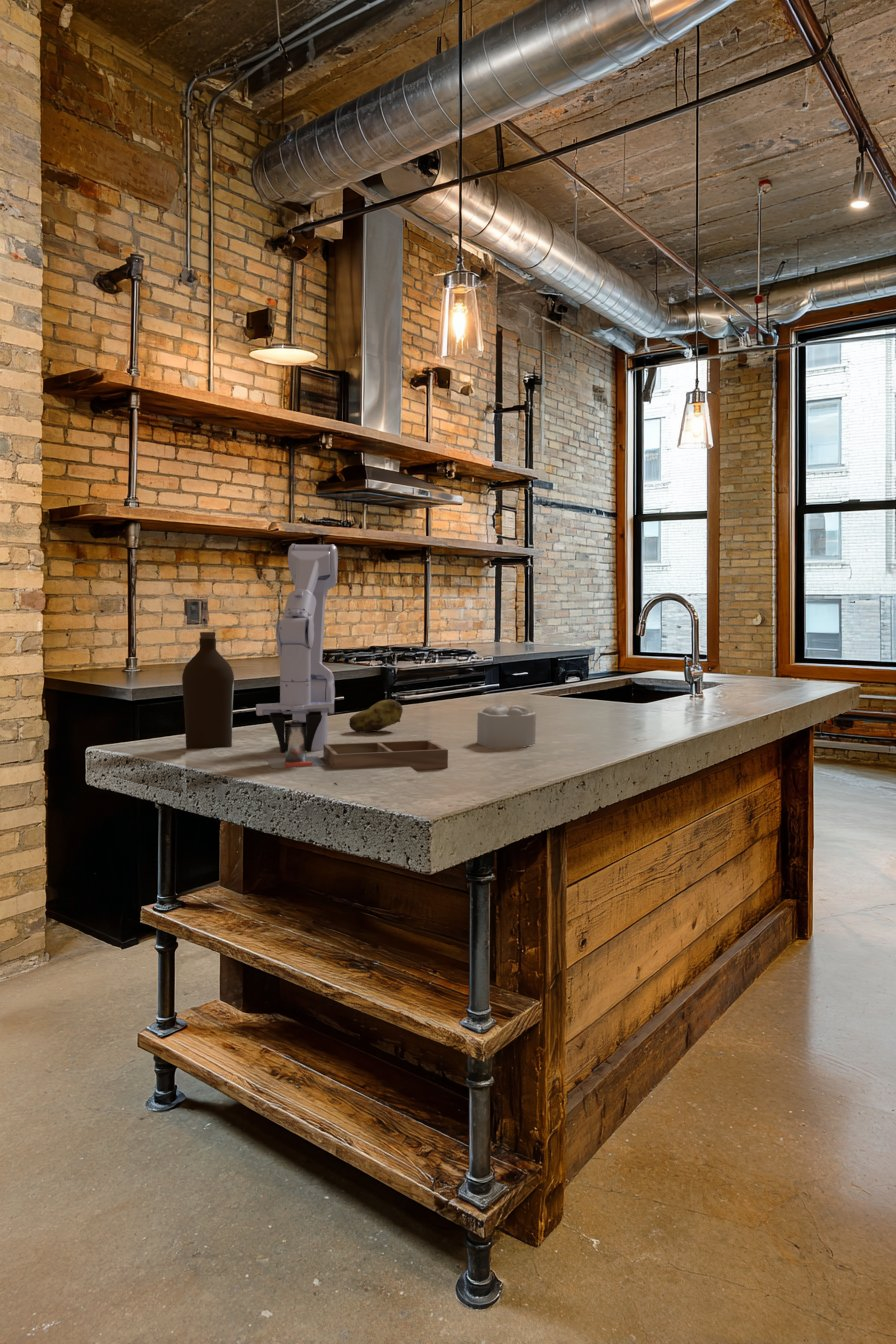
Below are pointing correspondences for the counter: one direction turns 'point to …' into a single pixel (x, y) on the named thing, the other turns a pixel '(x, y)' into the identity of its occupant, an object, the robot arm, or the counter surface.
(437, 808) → the counter surface
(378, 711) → the potato
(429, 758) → the sorting tray
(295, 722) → the cell
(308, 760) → the grey square base plate
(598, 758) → the counter surface
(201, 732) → the olive oil
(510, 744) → the lumpy-topped squat cylinder
